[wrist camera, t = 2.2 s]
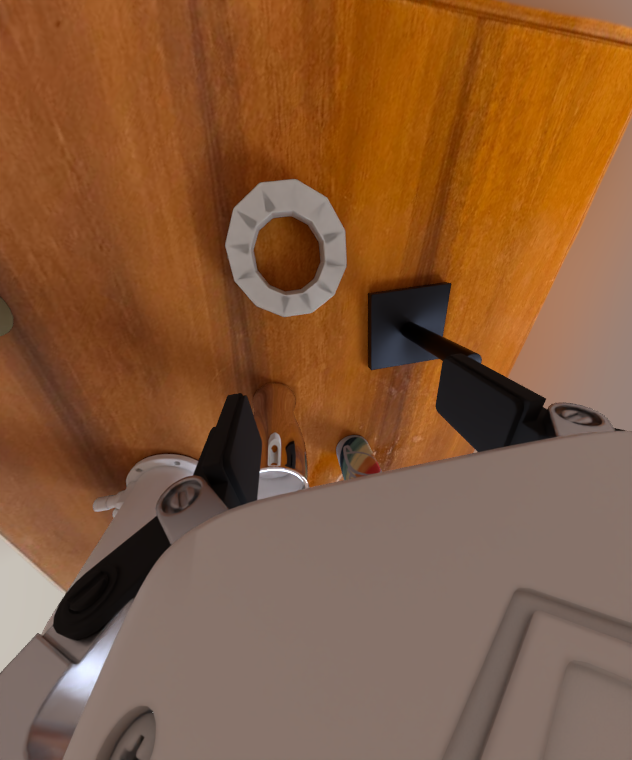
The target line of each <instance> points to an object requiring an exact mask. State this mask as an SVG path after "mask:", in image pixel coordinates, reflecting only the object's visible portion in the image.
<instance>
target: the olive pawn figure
mask: <svg viewBox="0 0 632 760" xmlns="http://www.w3.org/2000/svg"><path fill="white" fill-rule="evenodd" d="M12 326H13V316H12V313H11V311H10V308H9V307H8V306H7V304H6V303H5V301H4V300H3V299H2V298H1V297H0V336H2V335H4V334H6V333H8V332H9V331H10V329H11V328H12Z"/></svg>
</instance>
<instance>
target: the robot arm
mask: <svg viewBox="0 0 632 760" xmlns="http://www.w3.org/2000/svg"><path fill="white" fill-rule="evenodd" d="M545 400H546V398H544V397H542V396H540V395H538V394H536V393H534V392H533V391H531V390H529V389H527V388H525V387H523V386H521V385H519V384H518V383H516V382H514V381H512V380H510V379H508V378H507V377H505V376H503V375H501V374H499V373H497V372H495V371H494V370H492V369H490V368H488V367H486V366H484V365H482V364H481V363H479V362H477V361H475V360H473V359H471V358H469V357H468V356H466V355H464V354H461V353H460V354H454V355H449V356H447V357H446V359H444V360H443V363H442V369H441V375H440V382H439V388H438V394H437V400H436V409H437V411H438V413H439V414H440V415H441V416H442V417H443V418H444V419H445V420H446V421H447V422H448V423H449V424H450V425H451V426H452V427H453V428H454V429H455V430H456V431H457V432H458V433H459V434H460V435H461V436H462V437H463V438H464V439H465V440H466V441H467V442H468V443H469V444H470V445H472V446H473V447H474V448H475V449H476V450H477V451H478V452H477V453H472V454H467V455H462V456H457V457H453V458H448V459H443V460H438V461H433V462H428V463H424V464H419V465H414V466H409V467H404V468H400V469H395V470H390V471H385V472H381V473H376V474H371V475H366V476H362V477H357V478H352V479H348V480H343V481H338V482H334V483H329V484H324V485H320V486H315V487H311V488H306V489H302V490H298V491H293V492H289V493H285V494H280V495H276V496H272V497H268V498H264V499H260V500H257V497H258V486H259V476H260V465H261V454H262V440H261V437H260V434H259V431H258V428H257V425H256V422H255V419H254V416H253V413H252V410H251V407H250V404H249V401H248V398H247V396H246V395H245V396H243V395H242V394H241V393H239V394H233V395H228V396H227V399H226V401H225V404H224V407H223V409H222V412H221V415H220V417H219V420H218V423H217V425H216V427H213V428H212V429H211V431H210V433H209V436H208V438H207V441H206V443H205V446H204V448H203V451H202V453H201V456H200V458H199V461H197V460H195V459H192V458H190V457H186V456H183V455H176V454H161V455H154V456H151V457H147V458H145V459H143V460H141V461H140V462H138V463H137V464H135V466H134V467H133V468H132V469H131V471H130V472H129V474H128V475H127V479H126V487H127V488H126V490H124V491H121V492H119V493H118V494H117V495H109V496H104V497H99V498H97V499H96V500H95V501H94V504H93V509H94V511H96V512H99V511H104V510H109V509H112V508H115V507H116V508H115V509H114V511H113V517H114V518H113V520H112V522H111V523H110V525H109V526H108V528H107V530H106V531H105V533H104V534H103V536H102V537H101V539H100V541H99V542H98V544H97V545H96V547H95V548H94V550H93V552H92V553H91V555H90V556H89V558H88V559H87V561H86V563H85V564H84V566H83V567H82V569H81V571H80V572H79V574H78V575H77V577H76V578H75V580H74V582H73V583H72V585H71V586H70V588H69V589H68V591H67V593H66V594H65V596H64V598H63V599H62V601H61V602H60V603H59V605H58V606H57V608H56V609H55V611H54V613H53V614H52V616H51V618H50V619H49V621H48V622H47V624H46V626H45V628H44V630H43V632H42V635H41V634H38V633H37V634H36V635H35V637H34V638H33V639H32V640H31V641H30V642H29V643H28V644H27V645H26V646H25V647H24V648H23V649H22V650H21V651H20V653H19V654H18V655H17V656H16V657H15V658H14V659H13V660H12V661H11V662H10V663H9V664H8V665H7V666H6V667H5V668H4V669H3V671H2V672H1V673H0V760H632V431H625V430H620V429H616V428H613V426H612V425H611V423H610V421H609V420H608V419H607V418H606V417H605V416H603V415H602V414H601V413H599V412H597V411H595V410H593V409H591V408H588V407H585V406H582V405H577V404H572V403H554V404H551V405H550V406H549V407H548V409H545V408H544V407H543V405H544V403H545ZM152 712H153V713H152Z"/></svg>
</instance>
